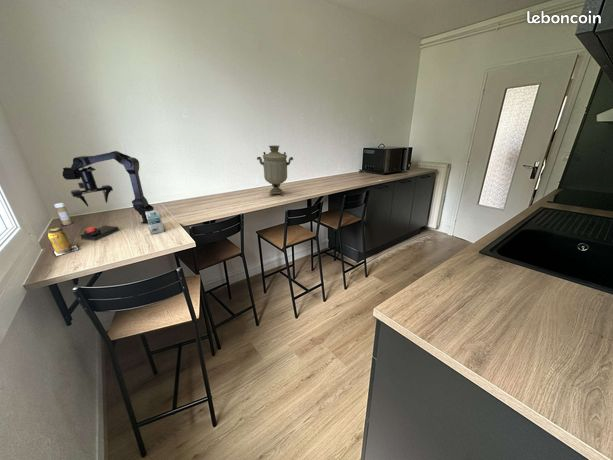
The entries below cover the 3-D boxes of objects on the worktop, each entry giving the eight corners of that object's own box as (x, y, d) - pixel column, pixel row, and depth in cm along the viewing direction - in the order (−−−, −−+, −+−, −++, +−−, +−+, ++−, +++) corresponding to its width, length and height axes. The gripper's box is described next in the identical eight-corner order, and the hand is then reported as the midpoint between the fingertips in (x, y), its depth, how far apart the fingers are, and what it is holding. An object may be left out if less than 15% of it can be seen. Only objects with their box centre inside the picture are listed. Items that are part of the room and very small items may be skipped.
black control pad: (119, 230, 149) (116, 224, 147) (95, 240, 136) (92, 234, 134) (105, 228, 151) (103, 222, 149) (80, 239, 138) (78, 232, 136)
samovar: (298, 190, 229) (297, 144, 213) (290, 198, 206) (288, 147, 190) (267, 188, 236) (264, 143, 219) (256, 196, 212) (251, 146, 196)
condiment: (54, 251, 125) (43, 229, 120) (75, 245, 131) (66, 224, 126) (56, 256, 121) (45, 233, 116) (79, 249, 127) (69, 228, 122)
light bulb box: (164, 231, 146) (160, 214, 142) (151, 234, 143) (146, 216, 138) (162, 225, 154) (157, 209, 150) (149, 228, 151) (144, 211, 146)
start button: (98, 230, 140) (96, 227, 139) (91, 233, 136) (89, 229, 135) (92, 229, 141) (91, 226, 140) (85, 232, 137) (83, 229, 136)
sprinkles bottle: (73, 222, 161) (64, 202, 155) (70, 224, 157) (62, 204, 152) (64, 223, 159) (55, 203, 154) (61, 225, 155) (52, 205, 150)
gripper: (103, 174, 156) (111, 198, 163) (64, 179, 144) (74, 205, 150) (108, 176, 150) (117, 201, 156) (67, 182, 137) (78, 209, 143)
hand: (97, 204), depth 152 cm, fingers open, 9 cm apart
